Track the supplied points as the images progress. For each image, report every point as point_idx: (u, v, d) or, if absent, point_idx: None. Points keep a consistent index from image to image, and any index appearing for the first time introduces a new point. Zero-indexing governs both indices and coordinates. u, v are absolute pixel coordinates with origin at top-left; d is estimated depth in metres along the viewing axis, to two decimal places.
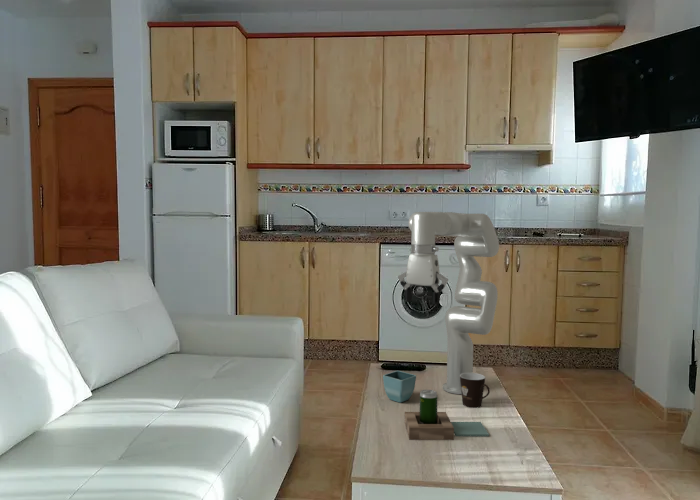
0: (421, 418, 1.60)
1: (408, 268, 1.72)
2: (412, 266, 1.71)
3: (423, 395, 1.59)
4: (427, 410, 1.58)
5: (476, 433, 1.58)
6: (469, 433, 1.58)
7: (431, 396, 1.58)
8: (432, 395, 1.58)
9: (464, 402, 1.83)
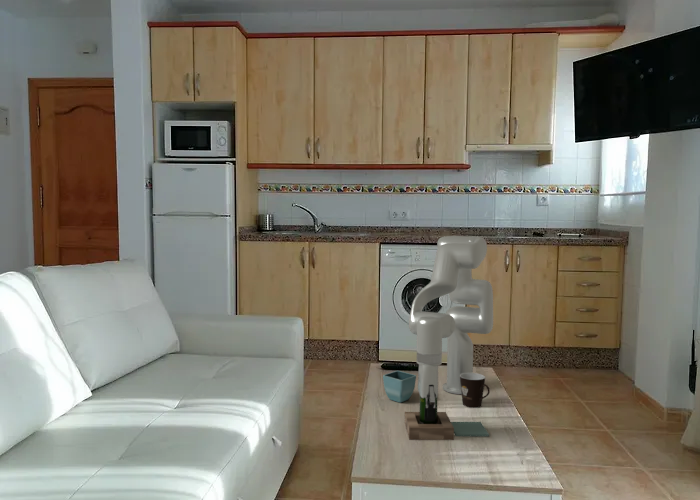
0: (421, 418, 1.60)
1: None
2: None
3: None
4: None
5: (476, 433, 1.58)
6: (469, 433, 1.58)
7: None
8: None
9: (464, 402, 1.83)
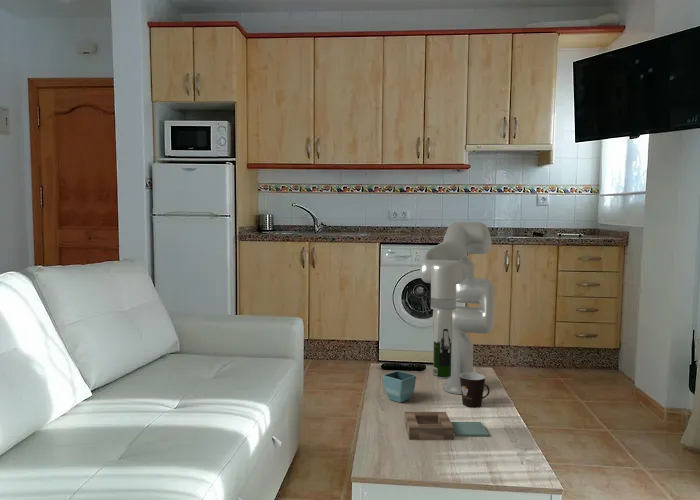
0: (435, 364, 1.59)
1: (452, 326, 1.56)
2: None
3: None
4: None
5: (476, 433, 1.58)
6: (469, 433, 1.58)
7: None
8: None
9: (464, 402, 1.83)
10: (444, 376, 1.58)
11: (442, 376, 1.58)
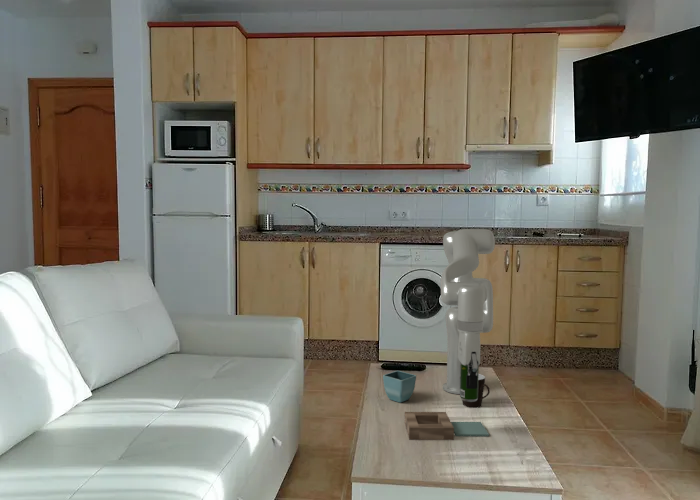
0: (462, 386, 1.60)
1: None
2: None
3: None
4: None
5: (476, 433, 1.58)
6: (469, 433, 1.58)
7: None
8: None
9: (464, 402, 1.83)
10: (471, 398, 1.59)
11: (469, 398, 1.59)
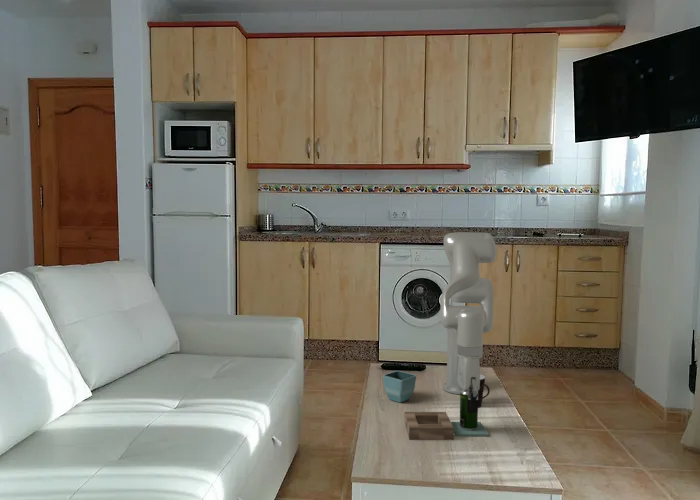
0: (462, 415, 1.61)
1: (479, 374, 1.57)
2: None
3: (464, 392, 1.60)
4: None
5: (476, 433, 1.58)
6: (469, 433, 1.58)
7: None
8: None
9: None
10: (471, 427, 1.60)
11: (469, 427, 1.60)
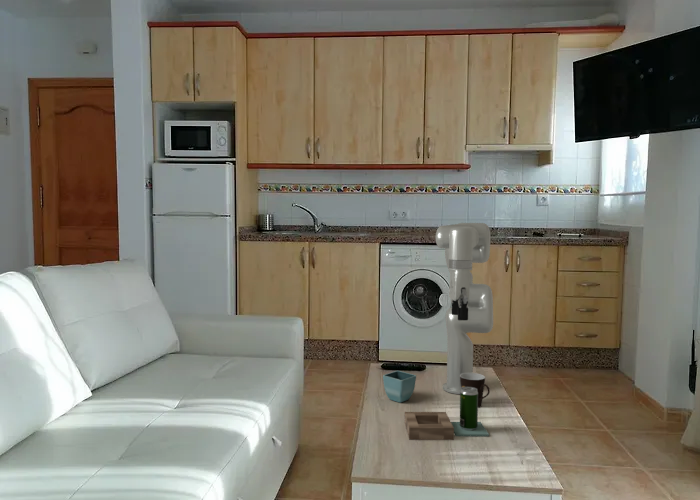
0: (462, 415, 1.61)
1: None
2: None
3: (464, 392, 1.60)
4: (468, 407, 1.59)
5: (476, 433, 1.58)
6: (469, 433, 1.58)
7: (472, 393, 1.59)
8: (473, 392, 1.60)
9: None
10: (471, 427, 1.60)
11: (469, 427, 1.60)
